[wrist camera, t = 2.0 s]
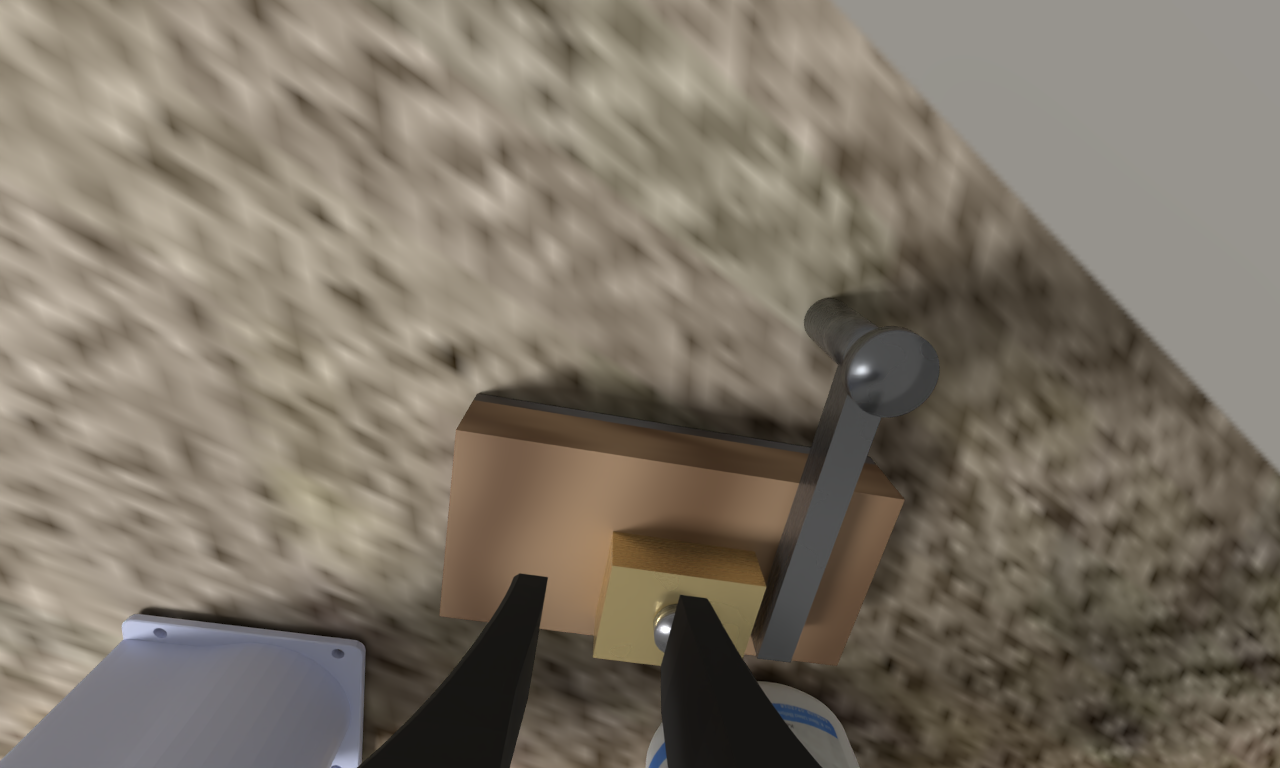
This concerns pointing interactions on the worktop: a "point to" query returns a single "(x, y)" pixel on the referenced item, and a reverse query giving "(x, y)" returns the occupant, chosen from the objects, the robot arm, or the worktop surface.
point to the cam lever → (838, 456)
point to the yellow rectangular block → (670, 594)
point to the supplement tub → (805, 721)
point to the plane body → (635, 511)
